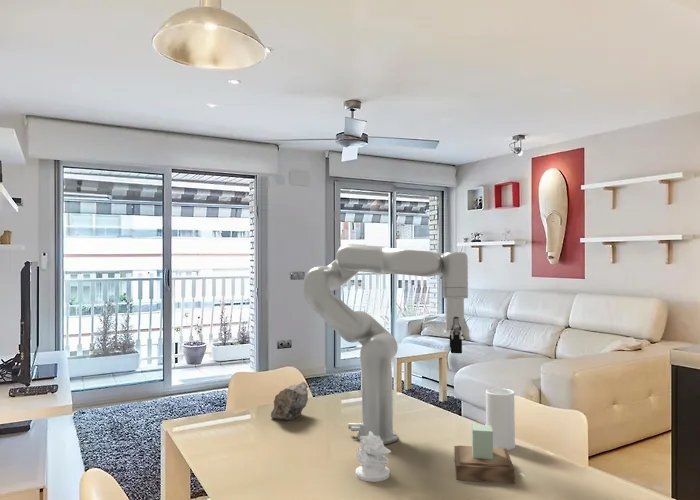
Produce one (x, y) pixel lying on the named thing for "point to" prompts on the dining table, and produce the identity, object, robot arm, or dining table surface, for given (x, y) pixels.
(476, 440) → the block
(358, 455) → the figurine
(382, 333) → the robot arm
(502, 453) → the plinth
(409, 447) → the dining table surface
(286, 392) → the rock
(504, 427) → the cup
